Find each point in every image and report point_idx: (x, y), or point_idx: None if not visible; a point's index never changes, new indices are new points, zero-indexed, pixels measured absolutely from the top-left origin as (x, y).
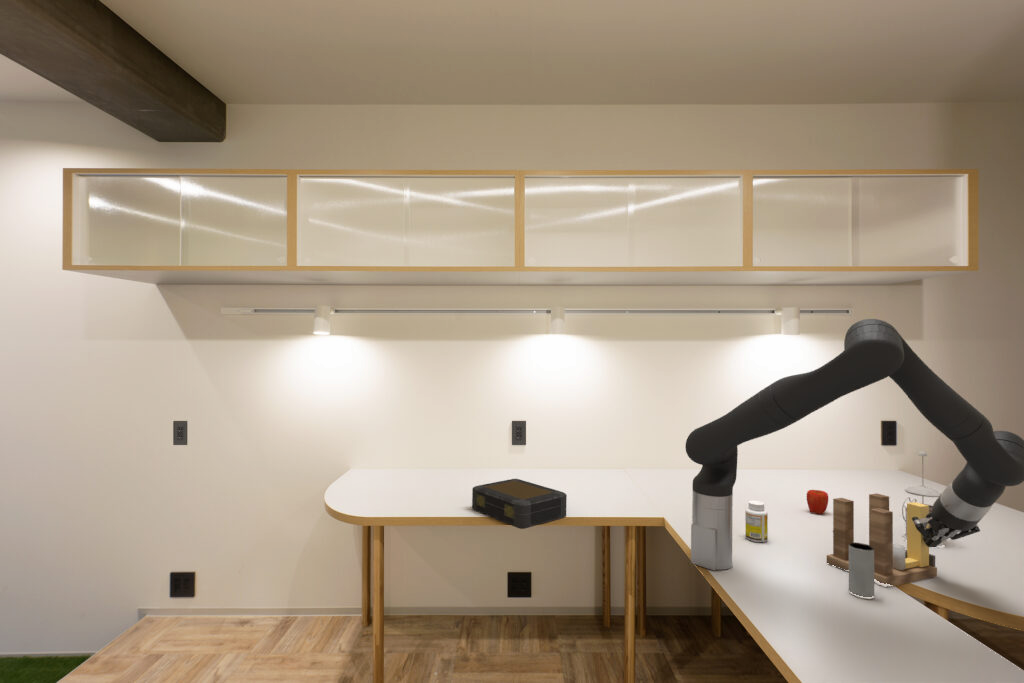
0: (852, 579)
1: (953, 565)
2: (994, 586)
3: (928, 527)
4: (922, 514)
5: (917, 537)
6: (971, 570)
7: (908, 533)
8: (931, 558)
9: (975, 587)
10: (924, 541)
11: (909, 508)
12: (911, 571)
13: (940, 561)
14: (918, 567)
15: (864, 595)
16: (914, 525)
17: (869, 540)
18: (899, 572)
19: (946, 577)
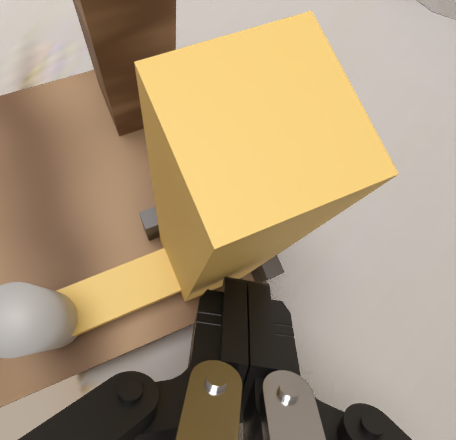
0: None
1: (410, 178)
2: (428, 382)
3: (185, 400)
4: (235, 255)
5: (181, 269)
6: (447, 224)
7: (158, 211)
8: (261, 273)
9: (342, 401)
10: (195, 319)
11: (153, 127)
12: (99, 349)
13: (387, 141)
14: (177, 295)
15: None
16: (175, 232)
17: (91, 59)
18: (19, 369)
19: (294, 302)
